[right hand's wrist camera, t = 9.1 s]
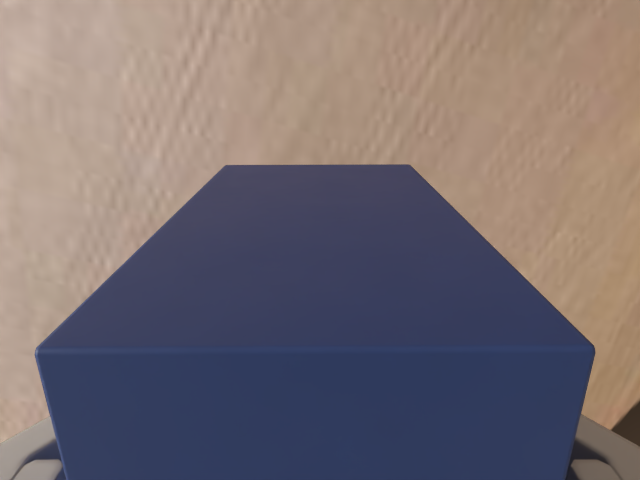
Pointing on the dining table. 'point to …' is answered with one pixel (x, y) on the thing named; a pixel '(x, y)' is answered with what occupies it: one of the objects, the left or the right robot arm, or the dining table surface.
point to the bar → (316, 343)
